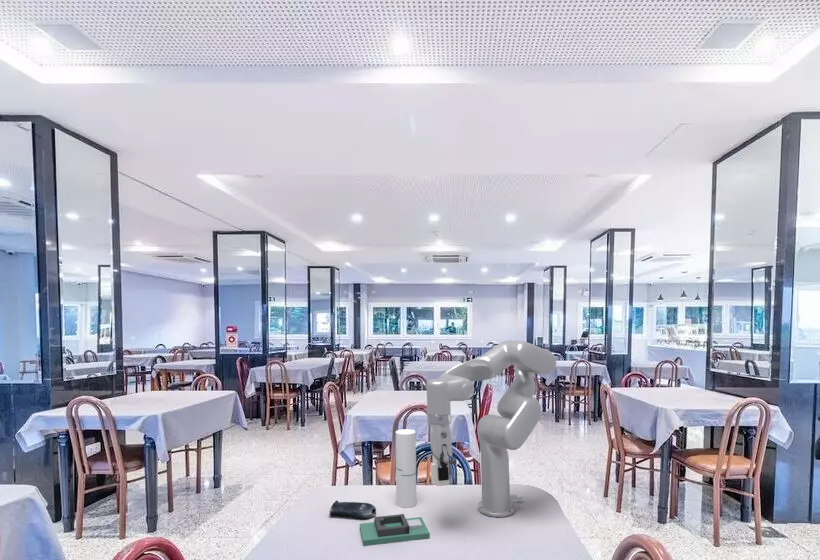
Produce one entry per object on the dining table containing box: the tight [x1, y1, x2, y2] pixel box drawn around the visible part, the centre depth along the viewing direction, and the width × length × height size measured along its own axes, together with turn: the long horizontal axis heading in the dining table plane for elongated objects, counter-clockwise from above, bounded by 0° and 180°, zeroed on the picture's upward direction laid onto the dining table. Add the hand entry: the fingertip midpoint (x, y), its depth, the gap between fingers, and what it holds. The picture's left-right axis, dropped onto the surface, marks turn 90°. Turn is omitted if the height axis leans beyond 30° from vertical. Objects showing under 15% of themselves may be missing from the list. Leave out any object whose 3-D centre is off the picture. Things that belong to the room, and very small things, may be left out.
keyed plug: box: [430, 454, 457, 487], centre depth 144 cm, size 8×5×8 cm, turn 102°
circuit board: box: [359, 513, 431, 547], centre depth 139 cm, size 20×11×4 cm, turn 102°
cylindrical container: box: [395, 428, 417, 509], centre depth 161 cm, size 7×7×25 cm
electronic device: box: [328, 499, 377, 520], centre depth 153 cm, size 9×6×15 cm
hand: (441, 476), depth 143 cm, fingers closed on keyed plug, 4 cm apart
